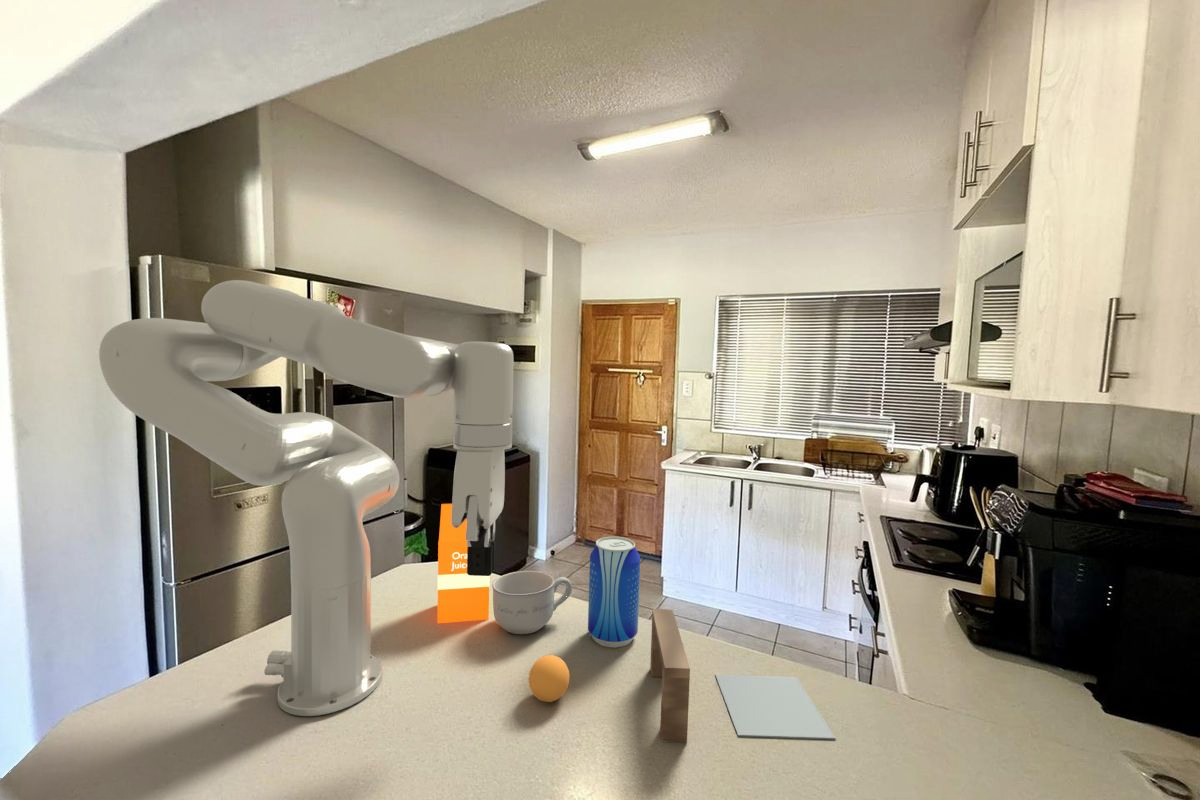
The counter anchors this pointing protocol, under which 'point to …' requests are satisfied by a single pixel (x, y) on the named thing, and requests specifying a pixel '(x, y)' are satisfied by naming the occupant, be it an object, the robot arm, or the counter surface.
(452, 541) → the orange juice
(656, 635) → the bridge
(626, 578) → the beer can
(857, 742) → the counter surface
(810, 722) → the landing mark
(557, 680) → the ball
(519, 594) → the teacup
